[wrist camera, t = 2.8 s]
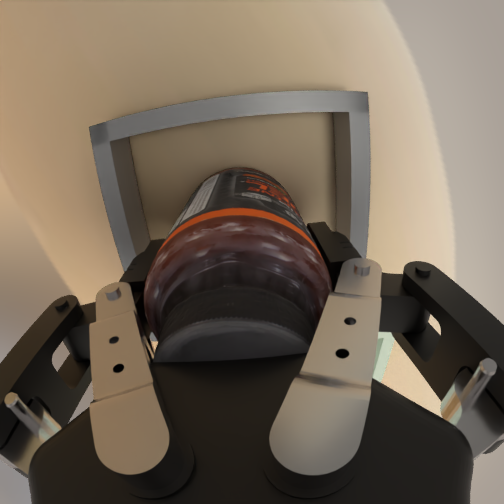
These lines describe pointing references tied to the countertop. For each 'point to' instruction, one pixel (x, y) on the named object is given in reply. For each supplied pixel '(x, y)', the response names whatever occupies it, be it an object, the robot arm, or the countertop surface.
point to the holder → (339, 102)
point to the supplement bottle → (236, 275)
